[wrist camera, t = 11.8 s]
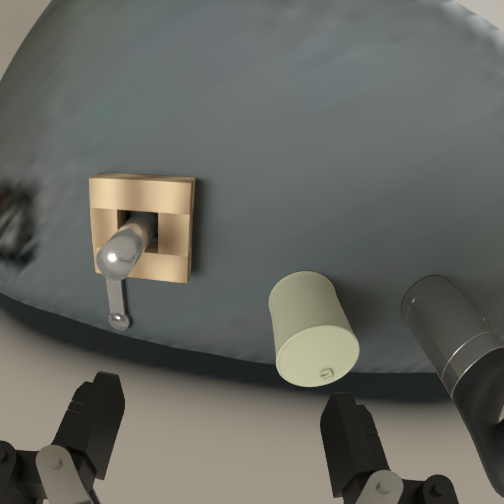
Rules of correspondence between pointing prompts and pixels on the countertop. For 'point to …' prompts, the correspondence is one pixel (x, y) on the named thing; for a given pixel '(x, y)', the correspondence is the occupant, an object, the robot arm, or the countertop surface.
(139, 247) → the pin
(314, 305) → the can
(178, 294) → the countertop surface
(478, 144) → the countertop surface
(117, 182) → the socket block
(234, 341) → the countertop surface
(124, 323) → the bar
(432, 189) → the countertop surface
